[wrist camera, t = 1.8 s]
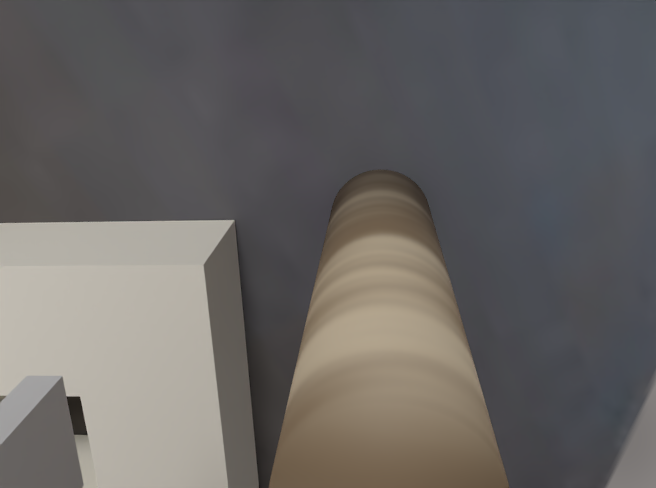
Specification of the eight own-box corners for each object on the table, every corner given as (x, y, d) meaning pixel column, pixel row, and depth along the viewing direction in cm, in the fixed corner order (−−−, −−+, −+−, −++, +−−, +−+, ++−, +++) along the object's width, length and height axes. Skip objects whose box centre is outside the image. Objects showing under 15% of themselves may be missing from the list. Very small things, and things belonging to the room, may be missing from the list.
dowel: (329, 170, 25) (259, 402, 10) (431, 168, 24) (519, 405, 9) (332, 264, 26) (276, 593, 11) (429, 263, 26) (504, 601, 11)
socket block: (-129, 224, 27) (-234, 267, 22) (234, 219, 26) (203, 264, 21) (-42, 517, 32) (-112, 601, 28) (262, 525, 31) (242, 615, 26)
